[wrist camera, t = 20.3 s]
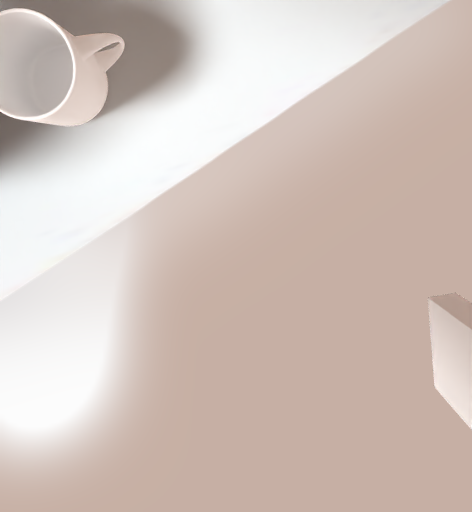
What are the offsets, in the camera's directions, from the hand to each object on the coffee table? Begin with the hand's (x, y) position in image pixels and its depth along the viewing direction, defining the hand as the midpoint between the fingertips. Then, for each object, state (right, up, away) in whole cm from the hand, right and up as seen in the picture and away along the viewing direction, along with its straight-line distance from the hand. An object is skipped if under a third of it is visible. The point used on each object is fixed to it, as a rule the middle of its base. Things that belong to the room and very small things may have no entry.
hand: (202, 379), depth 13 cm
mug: (-15, +22, +35) cm, 44 cm away
